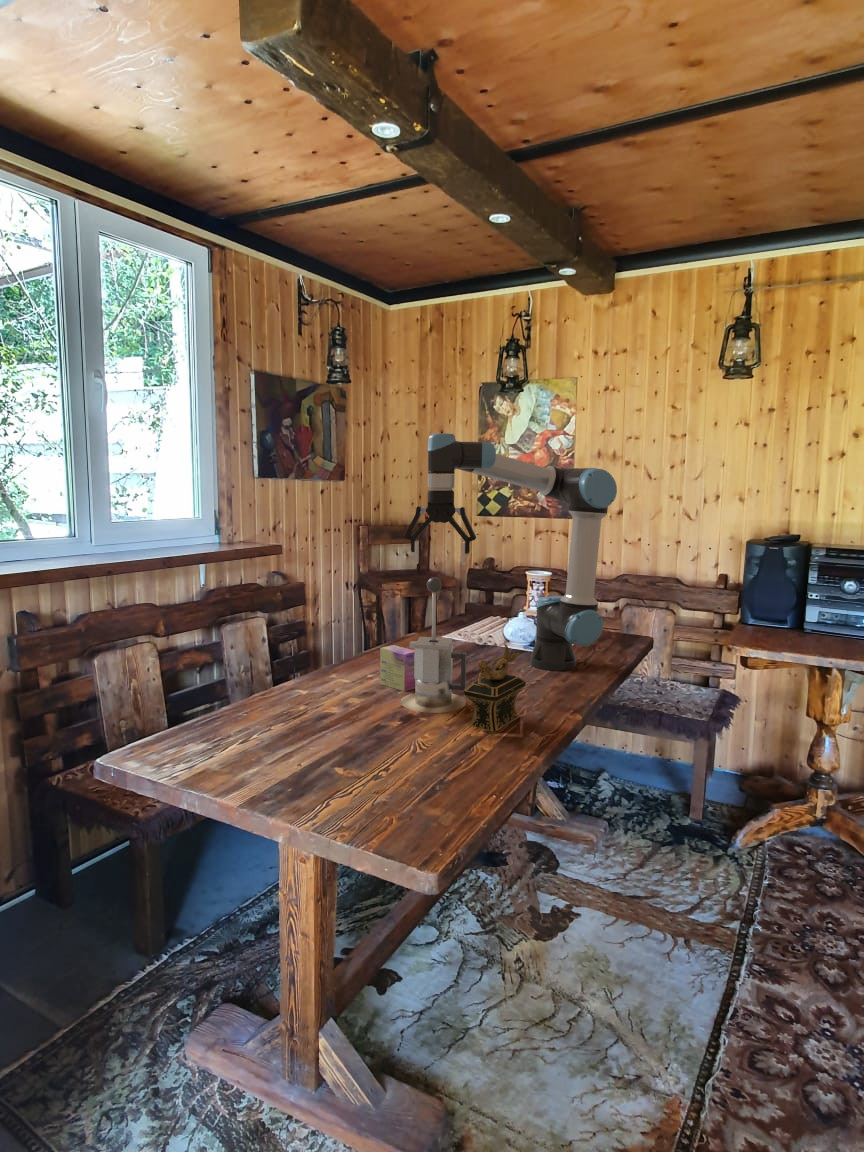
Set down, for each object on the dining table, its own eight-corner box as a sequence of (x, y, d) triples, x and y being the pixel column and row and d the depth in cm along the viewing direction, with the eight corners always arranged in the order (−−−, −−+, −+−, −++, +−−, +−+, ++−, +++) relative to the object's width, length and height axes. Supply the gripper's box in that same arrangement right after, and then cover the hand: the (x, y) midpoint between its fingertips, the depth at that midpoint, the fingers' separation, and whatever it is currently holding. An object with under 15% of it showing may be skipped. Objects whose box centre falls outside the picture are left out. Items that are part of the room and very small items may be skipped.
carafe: (466, 697, 196) (467, 638, 193) (463, 709, 186) (464, 647, 184) (412, 694, 198) (413, 636, 195) (406, 706, 188) (407, 644, 186)
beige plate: (468, 695, 200) (468, 693, 200) (462, 717, 182) (462, 714, 182) (406, 692, 202) (406, 689, 202) (394, 713, 185) (395, 710, 185)
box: (418, 689, 205) (418, 650, 203) (404, 694, 201) (404, 654, 199) (393, 682, 212) (393, 644, 210) (379, 686, 208) (379, 647, 206)
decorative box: (495, 738, 168) (497, 658, 165) (461, 729, 174) (462, 652, 171) (532, 715, 185) (534, 642, 182) (500, 707, 190) (502, 637, 187)
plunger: (442, 638, 191) (442, 576, 189) (440, 641, 187) (440, 578, 185) (427, 637, 192) (427, 576, 189) (425, 640, 188) (425, 578, 185)
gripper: (486, 489, 198) (484, 564, 202) (399, 488, 202) (399, 561, 205) (484, 490, 191) (482, 567, 194) (394, 489, 195) (394, 564, 198)
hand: (440, 564), depth 200 cm, fingers open, 13 cm apart
